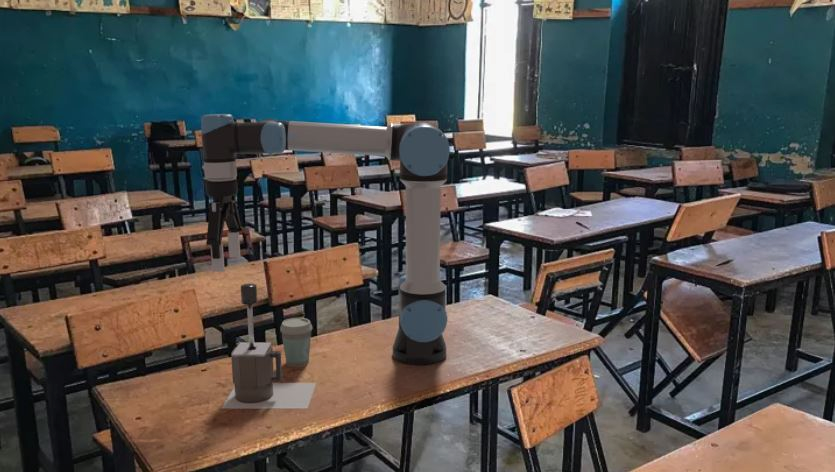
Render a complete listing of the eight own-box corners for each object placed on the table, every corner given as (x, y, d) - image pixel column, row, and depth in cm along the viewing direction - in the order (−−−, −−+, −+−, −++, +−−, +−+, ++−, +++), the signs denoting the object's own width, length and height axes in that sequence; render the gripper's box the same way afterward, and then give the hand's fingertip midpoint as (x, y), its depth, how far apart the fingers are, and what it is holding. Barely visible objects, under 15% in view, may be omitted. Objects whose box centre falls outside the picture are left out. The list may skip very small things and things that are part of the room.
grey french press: (285, 387, 169) (283, 341, 167) (278, 403, 161) (276, 355, 158) (240, 387, 169) (237, 341, 167) (230, 403, 161) (227, 355, 158)
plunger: (261, 349, 164) (258, 283, 161) (257, 355, 161) (254, 288, 157) (246, 349, 164) (242, 283, 161) (242, 355, 161) (238, 288, 157)
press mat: (316, 384, 172) (316, 382, 172) (307, 410, 158) (307, 408, 158) (237, 384, 172) (237, 382, 172) (221, 410, 158) (221, 408, 158)
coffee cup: (307, 371, 180) (305, 328, 177) (276, 369, 181) (274, 326, 179) (318, 359, 188) (316, 318, 185) (288, 357, 190) (287, 316, 187)
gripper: (221, 172, 177) (227, 252, 182) (187, 186, 153) (194, 277, 157) (250, 172, 177) (255, 251, 182) (220, 186, 153) (227, 277, 157)
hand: (227, 264), depth 169 cm, fingers open, 13 cm apart
